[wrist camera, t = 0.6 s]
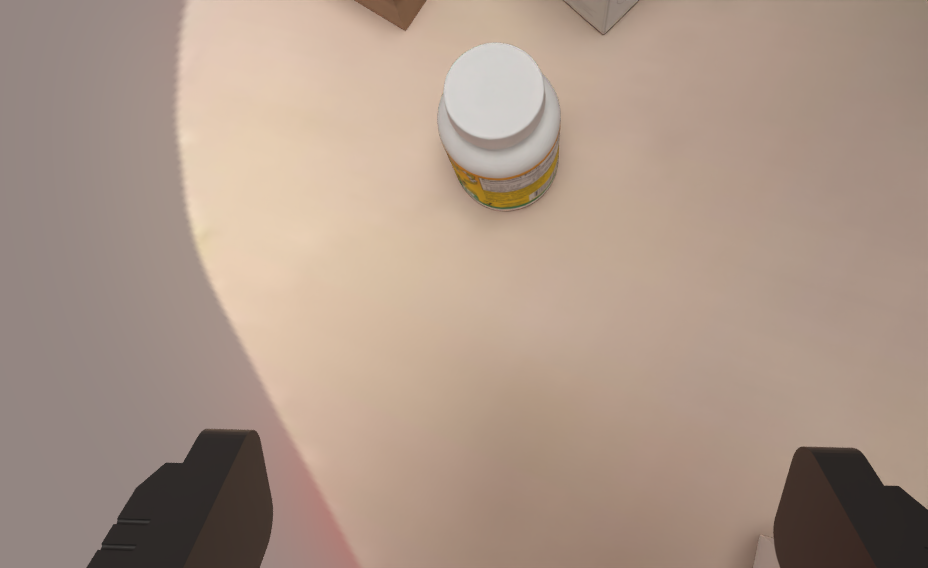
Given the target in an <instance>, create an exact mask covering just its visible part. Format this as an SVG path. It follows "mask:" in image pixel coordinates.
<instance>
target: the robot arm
mask: <svg viewBox="0 0 928 568" xmlns="http://www.w3.org/2000/svg"><path fill="white" fill-rule="evenodd" d="M272 521H273V505H272V498H271V493H270V488H269V482H268V477H267V472H266V467H265V462H264V456H263V451H262V447H261V441H260V437H259V435H258V433H257V432H256V431H255V430H233V429H205V430H203V431H202V432H201V433H200V434H199V436H198V437H197V439H196V441H195V443H194V444H193V446H192V448H191V450H190V451H189V453H188V455H187V457H186V458H185V460H184V462H183V463H165V464H164V465H163V466H161V467H160V468H159V469H158V470H157V471H156V472H154V473H153V474H152V475H151V476H150V477H149V478H147V479H146V480H145V481H144V482H143V483H142V484H140V485H139V486H138V487H137V488H136V489H135V491H134V492H133V494H132V496H131V497H130V499H129V501H128V502H127V504H126V505H125V507H124V508H123V510H122V512H121V513H120V515H119V517H118V521H117V524H114V525H113V526H112V528H111V529H110V531H109V532H108V534H107V536H106V537H105V539H104V541H103V542H102V548H101V550H97V552H96V553H95V555H94V557H93V558H92V560H91V562H90V563H89V565H88V566H87V568H260V565H261V562H262V560H263V557H264V554H265V551H266V549H267V545H268V543H269V539H270V534H271V529H272ZM773 533H774V546H775V552H776V557H777V560H778V563H779V566H780V568H928V510H927V509H926V508H925V507H924V506H922V505H921V504H920V503H919V502H917V501H916V500H915V499H914V498H913V497H911V496H910V495H909V494H908V493H907V492H905V491H904V490H903V489H902V488H900V487H899V486H884V485H883V483H882V482H881V480H880V479H879V477H878V476H877V474H876V473H875V471H874V470H873V468H872V467H871V465H870V464H869V462H868V460H867V459H866V457H865V456H864V455H863V454H862V453H861V452H860V451H859V450H857V449H855V448H836V447H800V448H798V449H797V450H796V452H795V454H794V456H793V459H792V462H791V466H790V469H789V472H788V476H787V479H786V483H785V486H784V489H783V493H782V496H781V500H780V503H779V507H778V510H777V513H776V517H775V521H774V532H773Z"/></svg>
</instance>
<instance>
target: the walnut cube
mask: <svg viewBox="0 0 928 568" xmlns="http://www.w3.org/2000/svg"><path fill="white" fill-rule="evenodd" d="M355 1H356V2H358V3H360V4H361V5H363V6H365V7H366V8H368V9H370V10H371V11H373V12H375V13H376V14H378V15H380V16H381V17H383V18H385V19H386V20H388V21H390V22H391V23H393V24H395V25H396V26H398V27H400V28H401V29H403V30H405V31H406V30H407V28H408V27H409V25H410V24H411V22H412V21H413V19H414V18H415V16H416V15H417V14H418V12H419V11H420V9H421V8H422V6H423V5H424V3H425V2H426V0H355Z"/></svg>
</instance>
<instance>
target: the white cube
mask: <svg viewBox="0 0 928 568" xmlns="http://www.w3.org/2000/svg"><path fill="white" fill-rule="evenodd" d="M753 568H780V566H779V563H778V560H777V557H776V552H775V546H774V538H771V537H767V536H764V535H760V536H759V541H758V546H757V551H756V555H755V560H754V565H753Z"/></svg>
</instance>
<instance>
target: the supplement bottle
mask: <svg viewBox="0 0 928 568" xmlns="http://www.w3.org/2000/svg"><path fill="white" fill-rule="evenodd" d="M560 122H561V114H560V105H559V101H558V97H557V95H556V92H555V90H554V88H553V86H552V85H551V83H550V82H549V80H548V79H547V78H546V77H545V76H544V75H543V74H542V73H541V70H540V68H539V67H538V65H537V64H536V62H535V61H534V60H533V58H532V57H531V56H530V55H528V54H527V53H526V52H525V51H523V50H521V49H520V48H518V47H516V46H513V45H510V44H505V43H486V44H482V45H479V46H476V47H474V48H472V49H470V50H468V51H467V52H465V53H464V54H462V55H461V56H460V57H459V58H458V59H457V60H456V61H455V62H454V63H453V65H452V66H451V68H450V70H449V72H448V73H447V76H446V79H445V83H444V91H443V94H442V97H441V100H440V103H439V107H438V115H437V124H438V131H439V135H440V138H441V141H442V143H443V146H444V148H445V150H446V152H447V155H448V157H449V159H450V162H451V164H452V166H453V168H454V170H455V173H456V175H457V177H458V180H459V181H460V183H461V185H462V187H463V188H464V189H465V191H466V192H467V193H468V194H469V195H470V196H471V197H472V198H473V199H475V200H476V201H477V202H478V203H480V204H481V205H483V206H485V207H487V208H490V209H494V210H500V211H510V210H517V209H521V208H524V207H526V206H528V205H530V204H532V203H534V202H535V201H537V200H538V199H539V198H540V197H541V196H542V195H543V194H544V193H545V192H546V191H547V190H548V188H549V187H550V185H551V184H552V182H553V180H554V177H555V175H556V171H557V166H558V158H559V155H558V154H559V136H560Z"/></svg>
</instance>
